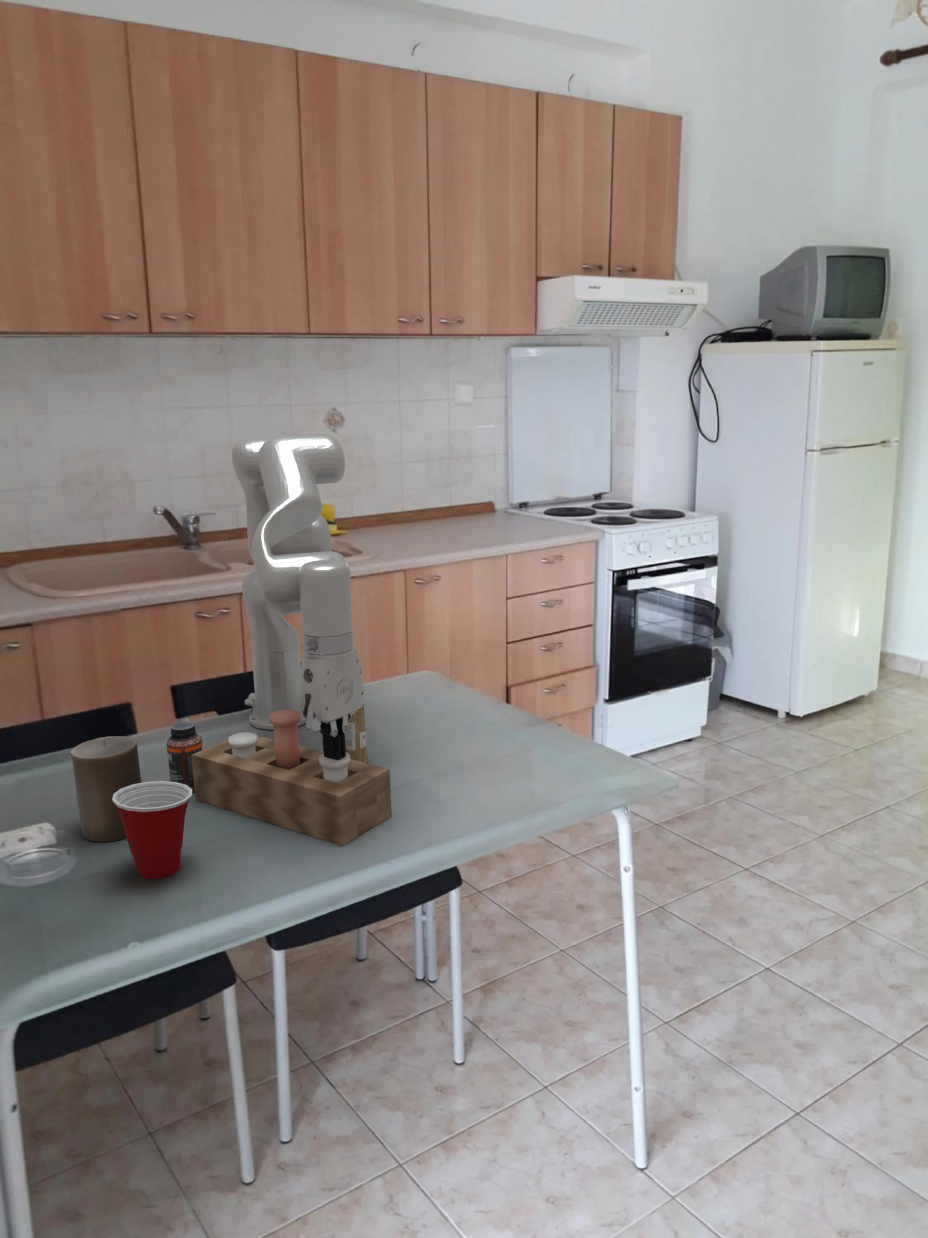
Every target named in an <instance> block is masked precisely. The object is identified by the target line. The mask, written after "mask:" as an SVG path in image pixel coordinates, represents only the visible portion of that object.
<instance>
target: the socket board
mask: <svg viewBox="0 0 928 1238" xmlns="http://www.w3.org/2000/svg"><path fill="white" fill-rule="evenodd" d="M257 736H258V743H257V744H256V745H255V749H256V752H255V753H253V754H251V755H249V756H247V757H244V758H242V757H239V756H235V755H232V747H230V746H229V744H228V739H226V740H223V741H221V742H218V743H216V744H213V745H212V746H209V747H207V748H205V749H204V748H203V750H202V751H199V752H197V753H195V754H192V755H191V756H192V767H193V777H194V788H195V791H194V797H195V801H197V802H198V801H199V802H203V803H204V804H208V805H211V806H213V807H214V806H215V807H218V808H222V809H224V810H227V811H231V812H234V813H236V814H240V815H243V816H246V817H249V818H253V819H256V820H259V821H262V822H265V823H269V824H271V825H276V826H278V827H281V828H285V829H288V830H290V831H294V832H297V833H300V834H303V835H307V836H310V837H313V838H317V839H320V840H322V841H326V842H329V843H332V844H336V845H338V846H341V847H343V846H345V845H347V844H349V843H350V842H351V841H353V840H355V839H356V838H358V837H360V836H361V835H363V834H364V833H366V832H368V831H370V830H371V829H373V828H374V827H376V826H378V825H379V824H381V823H382V822H384V821H386V820H387V819H388V818H389V819H390V817H392V794H391V793H392V791H391V770H390V768H386V767H383V766H379V765H375V764H372V763H368V762H367V763H364V762H360V761H356V760H352V759H350V764H349V765H347V768H348V778H346V779H344V780H343V781H341V782H339V783H334V782H331V781H327V780H324V779H323V767H321V766H320V765H319V756H320V755H322V754H323V751H319V750H316V749H312V748H308V747H304V746H300V745H299V752H300V765H298V766H296V767H294V768H292V769H290V770H287V769H283V768H279V767H276V753H275V740H274V738H272V739H271V738H269V737H268V738H267V737H264V736H262V735H257Z"/></svg>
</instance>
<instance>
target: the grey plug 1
mask: <svg viewBox="0 0 928 1238" xmlns="http://www.w3.org/2000/svg"><path fill="white" fill-rule="evenodd" d="M258 736H259V735H258V734H256V733H254V732H237V733H234V734H232V735H229V737H228V738H227V740H228V744H229V746H230V747H232V755H235V756H239V757H242V758H244V757H247V756H249V755H251V754H253V753H255V752H256V749H255V745H256V744H257V743H258Z"/></svg>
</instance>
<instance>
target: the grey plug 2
mask: <svg viewBox="0 0 928 1238" xmlns="http://www.w3.org/2000/svg"><path fill="white" fill-rule="evenodd" d="M349 764H350V754H349V753H347V752H346V757H344V758H341V759H340V760H334V759H330V758H326V757H324V753H323V754H322V755H320V756H319V765H320V766H321V767H323V779H324V780H327V781H331V782H334V783H339V782H341V781H343V780H344V779H346V778H348V768H347V765H349Z"/></svg>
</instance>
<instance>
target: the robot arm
mask: <svg viewBox="0 0 928 1238" xmlns="http://www.w3.org/2000/svg"><path fill="white" fill-rule="evenodd" d="M345 459H346V458H345V455H344V450H343V448H342V446H341V444H340V442H339V441H338V439H337V438H336V437H334V435H331V434H324V433H323V434H319V433H318V434H300V435H299V434H298V435H296V434H295V435H294V434H293V435H280V436H268V437H254V438H245V439H242V440H239V441H238V442H236V443H235V444H234V445H233V447H232V451H231V460H232V461H231V462H232V466H233V471H234V472H235V475H236V477H237V479H238V481H239V484H240V486H241V487H242V490H243V494H244V496H245V498H244V499H245V505H246V506H245V507H246V510H245V511H246V528H247V529H246V530H247V531H246V533H247V545H248V547H247V548H248V552H249V556H250V558H251V560H252V562H253V566H254V570H253V571H250V572H249V573H247V574H246V575H245V576H244V578H243V579H242V585H241V592H242V597H243V602H244V605H245V610H246V611H245V612H246V615H247V621H248V628H249V635H250V647H251V658H252V659H251V660H252V671H253V672H252V673H253V684H254V685H253V686H254V692H251V693H250V694H249V695H248V698H246V699H245V700H244V705H246V706H249V707H252V712H251V713H250V714H249V716H248V722H250V723H249V724H250V725H251V726H253V727H255V728H257V729H260V730H261V729H262V730H270V731H271V730H273V731H274V726H273V725H272V724H271V723H270V714H272V713H273V712H276V711H280V710H295V711H298V712H300V719H301V720H300V722H298V727H299V726H303V725H304V724H305V729H306V730H308V731H312V732H314V731H318V733H319V734H320V735H322V736H321V737H322V749H323V750H322V752H323V753H324V757H326V758H330V759H334V760H340V759H341V758H344V757H346V745H345V733H344V732H346V731H347V728H348V721H349V719H350V716H352V715H353V714H354V713H355V712H357V710H359V709H360V708H361V707H362V706H363V705H364V706H365V703H364V694H365V689H364V688H365V687H364V685H365V684H364V679H363V678H364V676H363V670H362V665H361V659H360V655H359V652H358V649H357V647H356V646H355V645H354V635H353V633H354V631H353V630H354V629H353V612H352V611H353V609H352V591H351V578H352V577H351V575H352V573H351V567H350V564H349V561H348V560H346V559H345V557H344V555H343V554H341V552H338V551H333V550H332V536H331V531H330V527H329V524H328V522H327V519H326V518H325V517H324V516H322V515H321V514H322V510H323V504H322V499H321V496H320V493H319V489H318V485H324V484H325V485H326V484H337V483H338V482H340V481H342V479H343V477H344V475H345V469H346V461H345ZM292 614H300V619H301V630H302V631H301V632H302V635H301V636H302V644H301V645H300V637H299V633H298V631H297V630H296V628H295V627H294V626H293V625H292V624H291V623H290V622H289V621H288V620H287V619H285V616H288V615H292ZM300 646H301V650H302V652H303V655H302V657H301V652H300Z"/></svg>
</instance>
